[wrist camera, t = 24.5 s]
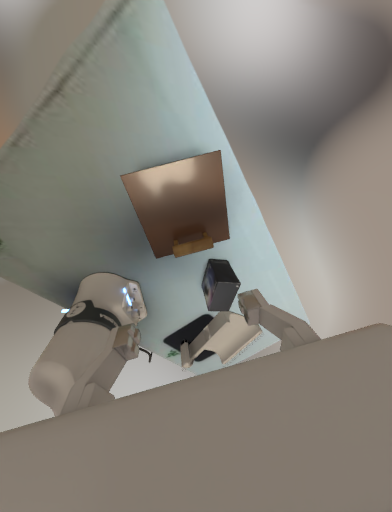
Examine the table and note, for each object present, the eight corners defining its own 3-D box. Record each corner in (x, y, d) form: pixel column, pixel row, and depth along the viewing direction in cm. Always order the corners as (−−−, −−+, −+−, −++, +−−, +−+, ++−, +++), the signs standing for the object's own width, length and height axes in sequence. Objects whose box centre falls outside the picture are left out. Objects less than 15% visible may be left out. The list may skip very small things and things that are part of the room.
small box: (207, 258, 45) (217, 281, 36) (228, 260, 46) (242, 283, 37) (200, 285, 50) (207, 312, 41) (218, 286, 51) (229, 312, 42)
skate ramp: (221, 351, 74) (228, 375, 66) (180, 343, 65) (182, 370, 57) (255, 319, 65) (269, 343, 56) (213, 306, 56) (221, 331, 47)
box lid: (228, 237, 28) (239, 250, 24) (156, 256, 28) (154, 273, 24) (218, 150, 21) (231, 147, 17) (121, 175, 20) (109, 178, 16)
